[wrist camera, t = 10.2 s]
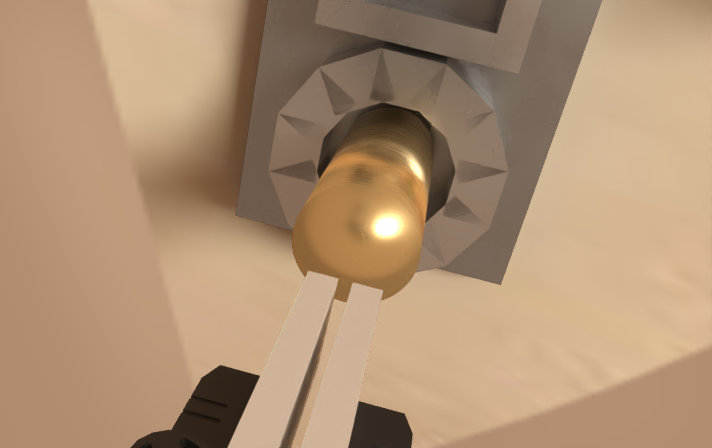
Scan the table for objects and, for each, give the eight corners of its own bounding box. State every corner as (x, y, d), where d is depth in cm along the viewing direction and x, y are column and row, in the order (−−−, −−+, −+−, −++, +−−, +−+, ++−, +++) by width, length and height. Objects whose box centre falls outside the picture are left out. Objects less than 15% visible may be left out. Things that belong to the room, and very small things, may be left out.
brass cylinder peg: (353, 97, 29) (302, 171, 20) (444, 118, 29) (434, 203, 20) (336, 182, 31) (283, 286, 21) (422, 203, 30) (404, 316, 21)
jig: (312, -212, 26) (284, -238, 22) (639, -136, 26) (673, -149, 21) (247, 200, 34) (217, 238, 30) (498, 265, 33) (503, 313, 29)
